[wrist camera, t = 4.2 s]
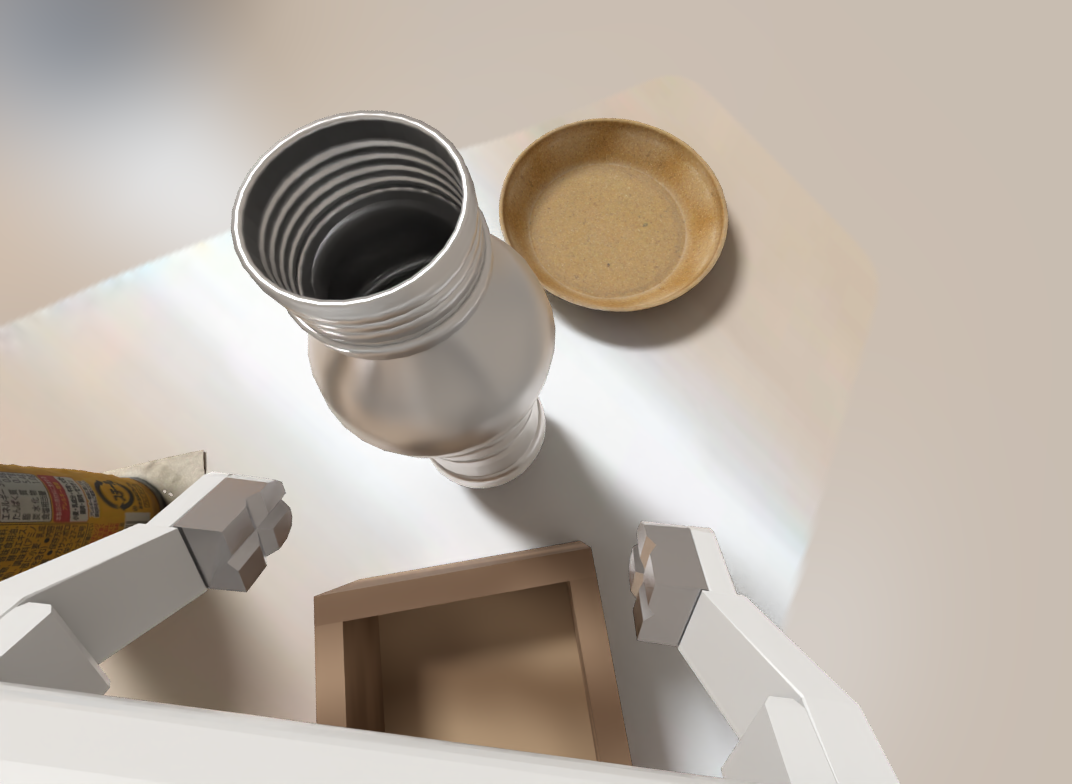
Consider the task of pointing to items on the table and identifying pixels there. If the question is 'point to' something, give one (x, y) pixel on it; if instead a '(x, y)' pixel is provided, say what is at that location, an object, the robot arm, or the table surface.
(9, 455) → the table surface
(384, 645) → the tray
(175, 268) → the table surface
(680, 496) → the table surface
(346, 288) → the plastic bottle
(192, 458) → the condiment
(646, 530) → the robot arm
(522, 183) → the plant saucer
